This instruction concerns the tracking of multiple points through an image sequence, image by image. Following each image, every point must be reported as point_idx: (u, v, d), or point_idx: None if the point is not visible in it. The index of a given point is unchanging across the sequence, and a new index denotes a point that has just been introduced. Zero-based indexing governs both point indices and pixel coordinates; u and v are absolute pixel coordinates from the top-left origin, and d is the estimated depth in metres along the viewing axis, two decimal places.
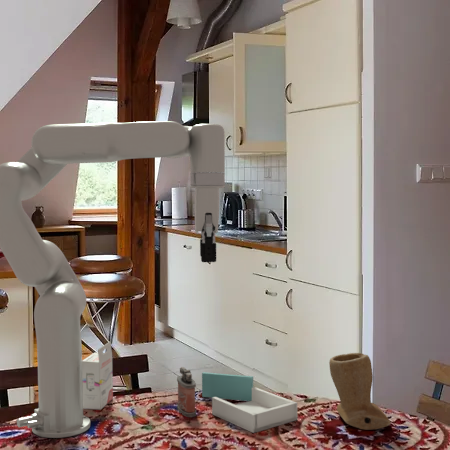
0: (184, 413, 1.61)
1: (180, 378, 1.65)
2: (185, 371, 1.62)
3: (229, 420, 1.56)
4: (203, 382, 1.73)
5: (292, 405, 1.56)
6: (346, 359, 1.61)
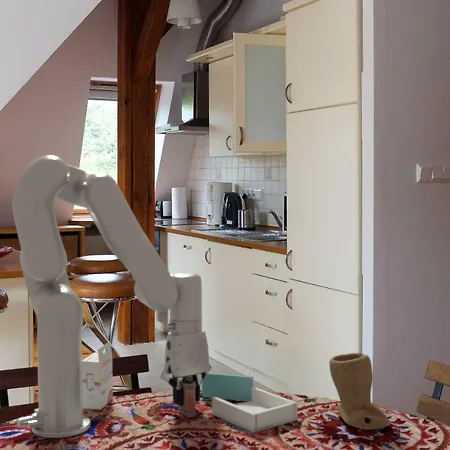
0: (184, 413, 1.61)
1: None
2: None
3: (229, 420, 1.56)
4: (203, 382, 1.73)
5: (292, 405, 1.56)
6: (346, 359, 1.61)
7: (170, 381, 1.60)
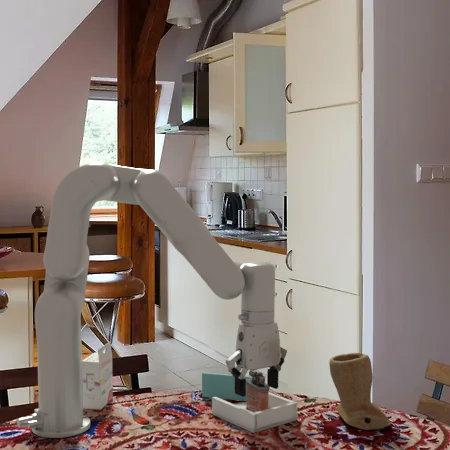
0: None
1: (250, 381, 1.59)
2: (257, 374, 1.57)
3: (229, 420, 1.56)
4: (203, 382, 1.73)
5: (292, 405, 1.56)
6: (346, 359, 1.61)
7: (233, 369, 1.52)
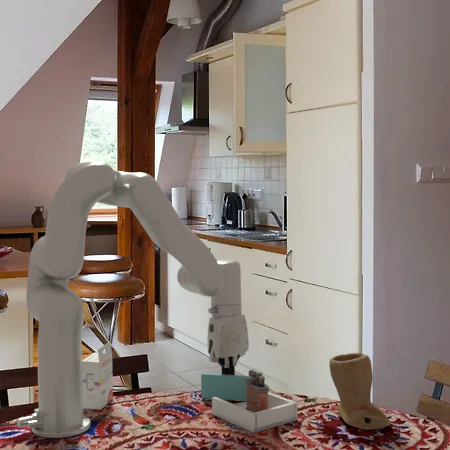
0: None
1: (250, 381, 1.59)
2: (257, 374, 1.57)
3: (229, 420, 1.56)
4: (202, 383, 1.72)
5: (292, 405, 1.56)
6: (346, 359, 1.61)
7: (219, 361, 1.71)
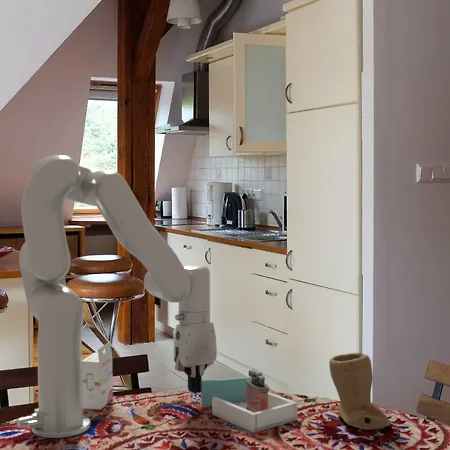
0: None
1: (250, 381, 1.59)
2: (257, 374, 1.57)
3: (229, 420, 1.56)
4: (203, 391, 1.66)
5: (292, 405, 1.56)
6: (346, 359, 1.61)
7: (185, 370, 1.65)
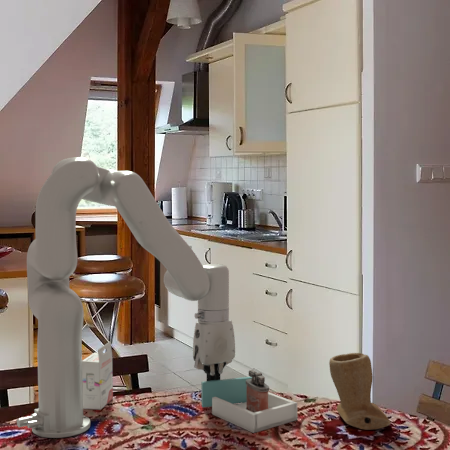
0: None
1: (250, 381, 1.59)
2: (257, 374, 1.57)
3: (229, 420, 1.56)
4: (204, 392, 1.65)
5: (292, 405, 1.56)
6: (346, 359, 1.61)
7: (204, 368, 1.66)
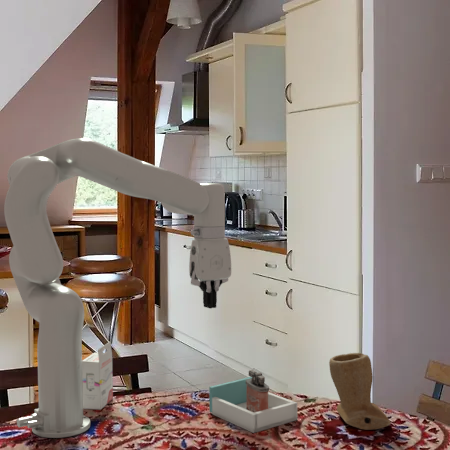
0: None
1: (250, 381, 1.59)
2: (257, 374, 1.57)
3: (229, 420, 1.56)
4: None
5: (292, 405, 1.56)
6: (346, 359, 1.61)
7: (201, 284, 1.68)
